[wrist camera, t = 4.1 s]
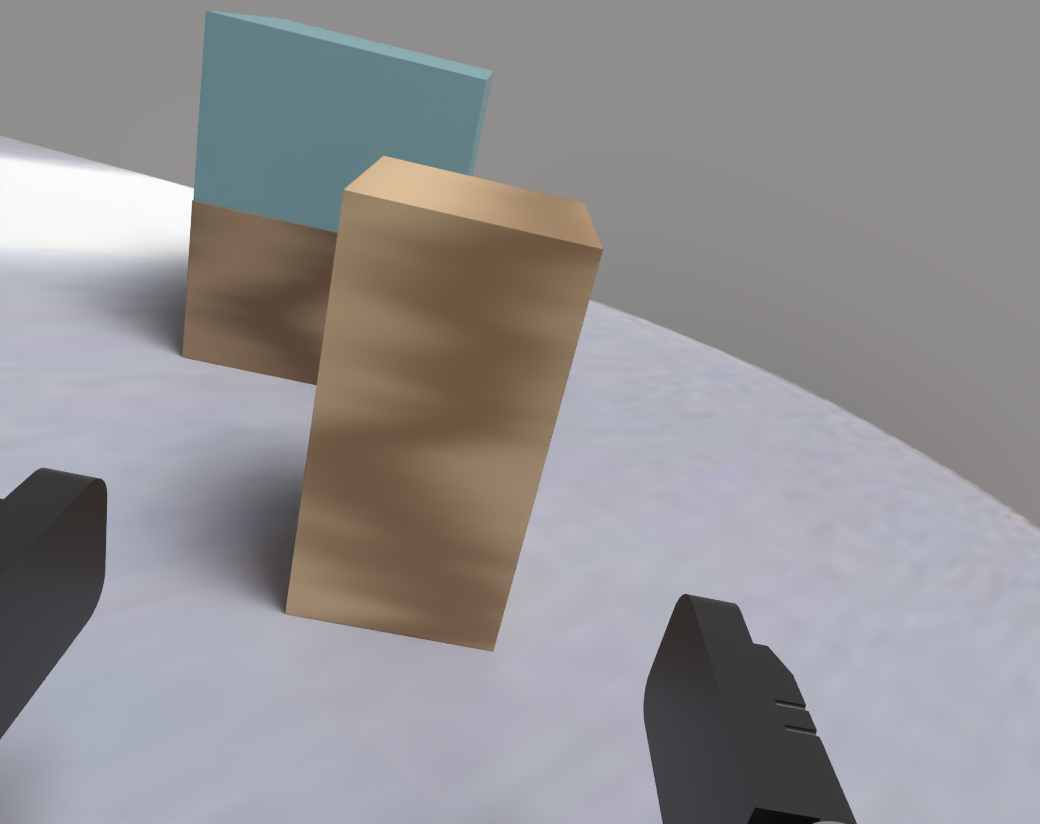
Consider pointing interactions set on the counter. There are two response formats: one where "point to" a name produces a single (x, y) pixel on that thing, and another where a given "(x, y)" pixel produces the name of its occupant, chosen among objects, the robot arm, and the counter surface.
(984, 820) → the counter surface
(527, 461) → the oak block
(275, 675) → the counter surface
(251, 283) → the walnut base block
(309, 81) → the teal top block
